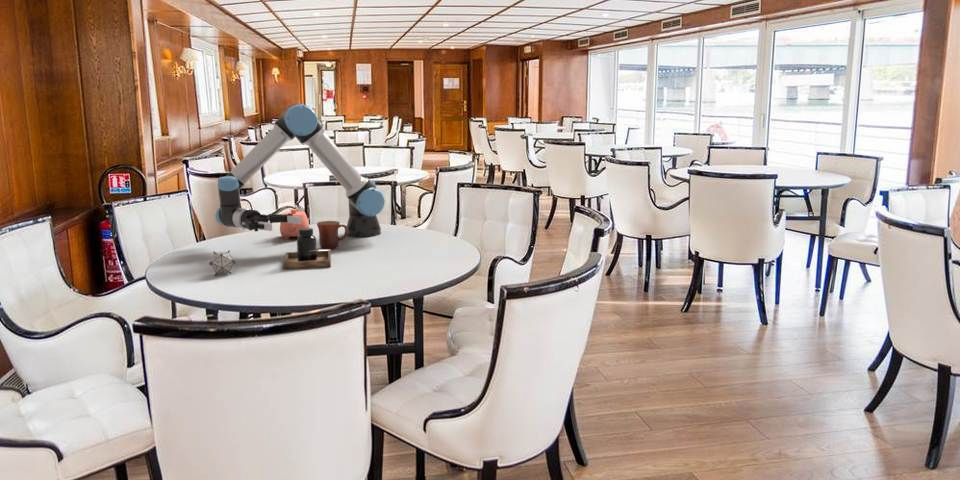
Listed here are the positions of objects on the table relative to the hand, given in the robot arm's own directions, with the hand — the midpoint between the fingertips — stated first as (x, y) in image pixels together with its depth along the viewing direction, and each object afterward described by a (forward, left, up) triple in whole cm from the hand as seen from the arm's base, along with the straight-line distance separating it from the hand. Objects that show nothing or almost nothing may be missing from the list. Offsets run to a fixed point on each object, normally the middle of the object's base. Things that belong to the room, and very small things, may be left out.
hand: (286, 223), depth 259 cm
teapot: (0, -41, -14) cm, 43 cm away
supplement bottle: (-7, +7, -13) cm, 17 cm away
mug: (-16, -16, -14) cm, 27 cm away
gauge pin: (-9, -5, -14) cm, 17 cm away
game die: (+21, +17, -14) cm, 30 cm away
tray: (-7, +7, -14) cm, 17 cm away
